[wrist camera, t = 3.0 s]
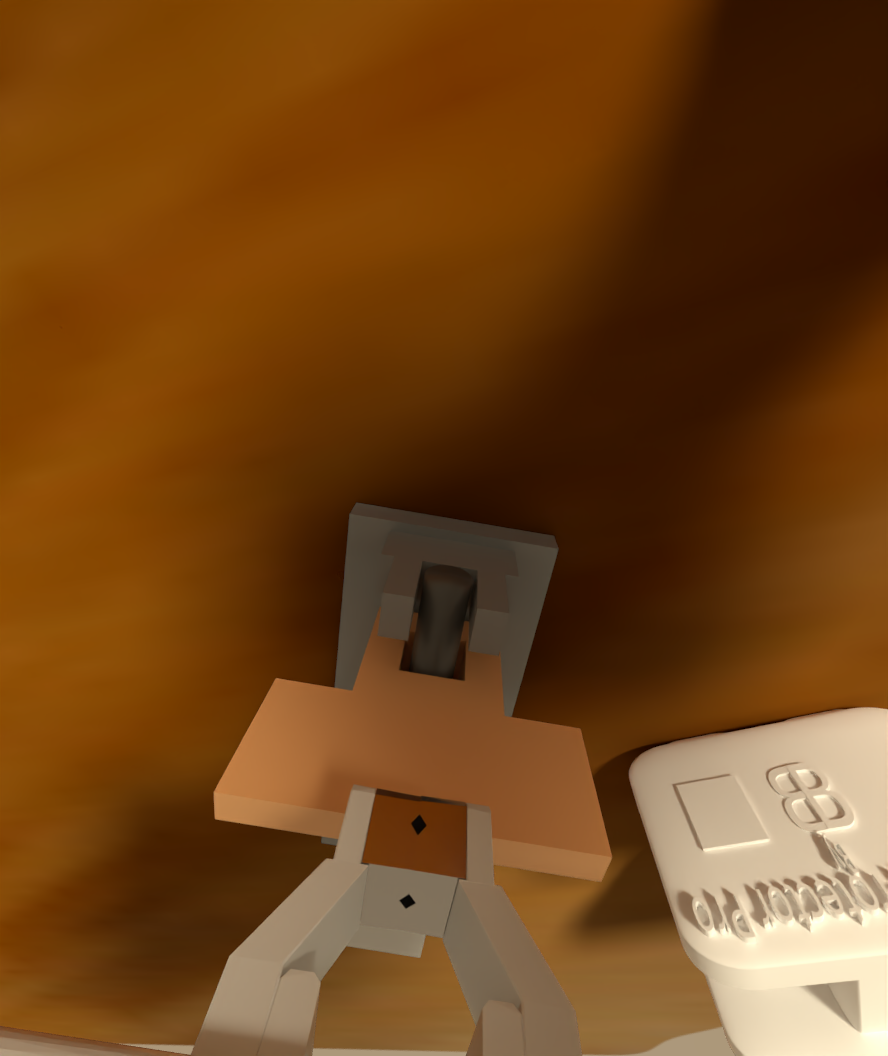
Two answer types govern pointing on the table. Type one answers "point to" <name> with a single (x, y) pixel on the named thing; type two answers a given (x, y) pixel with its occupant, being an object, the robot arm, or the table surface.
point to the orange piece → (419, 758)
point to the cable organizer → (780, 876)
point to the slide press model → (438, 610)
